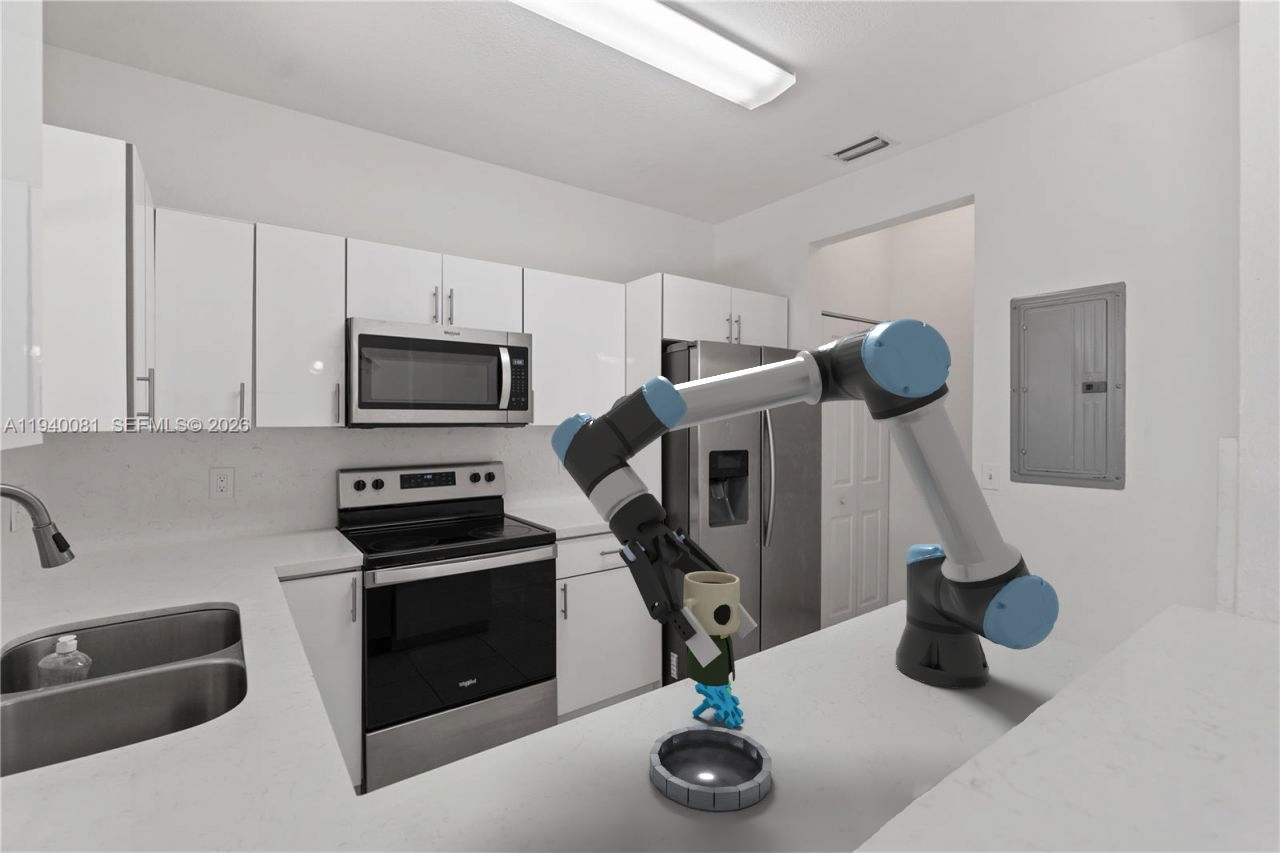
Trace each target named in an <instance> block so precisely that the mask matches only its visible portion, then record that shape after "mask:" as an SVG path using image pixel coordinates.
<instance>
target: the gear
mask: <svg viewBox="0 0 1280 853" xmlns="http://www.w3.org/2000/svg"><path fill="white" fill-rule="evenodd" d="M731 685H732V682H731V680H730V679H729V684H728V685H725V686H719V687H715V686H705V685H703V684H700V683H698V682H696V684H695V685H694V689H695V692H696V693H697V694H698V695H700V694H701V695H702V696H704V699H703V700H702V703H701V704H699V705H698V706H697V707H696V708H695V709H693V711H692V712H691V713H692V715H693V717H695V718H698V717H699V716H700V715H701V714H702V713H703V714H704V712H705V711H707V710H709V709H710V708H713V709H715V710H716V712H714V713H713V716H714V718H715V720H717V721H718V722H719V723H721V721H723V720H724V719H725V720H724V724H725V726H726V727H727V728H728V729H733V728H734V727H736V728H737V727H740V726H741V725H742V724H743V721H742V719H741V718H742V717H743V716H744V712H743V710H742V709H741V708H740V707H738V706H739V705H740V704H741V703H740V700H739V698H738V696H736V695H733V694H732V690H733V688H732V686H731Z"/></svg>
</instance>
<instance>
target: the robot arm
mask: <svg viewBox="0 0 1280 853" xmlns="http://www.w3.org/2000/svg"><path fill="white" fill-rule="evenodd" d="M951 366H952V356H951V352H950V347H949V345H948V343H947V341H946V340H945V338H944V337H943V336H942V334H941V333H940V332H939V331H938V330H937V329H936V328H935V327H933V326H932V325H930V324H928V323H926V322H922V320H921V321H920V320H917V319H913V318H902V319H894V320H886V321H884V322H881V323H879V324H878V323H877V324H875V325H873V326H870V327H867V328H864V329H861V330H859V331H854V332H851V333H848V334H847V335H844V336H842V337H840V338H837V339H835V340H832V341H830V342H827V343H825V344H822V345H819V346H816V347H813V348H809V349H805V350H800V351H798V352H797V354H796V355H795V358H792V359H791V358H790V359H786V360H782V361H778V362H774V363H773V362H772V363H769V364H764V365H759V366H755V367H750V368H746V369H742V370H736V371H733V372H732V371H731V372H727V373H723V374H719V375H718V374H717V375H716V376H710V377H709V376H708V377H705V378H702V379H697V380H696V379H695V380H691V381H687V382H683V383H679V384H673V383H672V382H671V381H670V380H669V379H668V378H667V377H664V376H663V375H662V376H661V375H657V376H655V377H653V378H651V379H650V380H649V381H647V382H644V383H643V384H642V385H641V386H640V387H638V388H637V389H636V390H634V391H633V392H632V393H630V394H628V395H627V394H626V395H623V396H621V397H620V398H617V399H616V401H614V402H613V404H612V406H611V408H610V410H608V411H607V412H606V413H603V414H602V415H601V416H599V417H597V418H596V419H595V418H594V417H593V416H592V415H590V414H589V413H587V412H580V413H576V414H574V416H568V418H566V419H564V420H562V422H561V423H560V424H559V425H558V426H557V427H556V429H555V430H554V432H553V433H552V435H551V440H550V444H551V448H552V450H553V451H554V453H555V454H556V456H557V458H558V459H559V461H560V462H561V465H562V466H563V467H564V469H565V470H566V471H567V472H568V474H569V475H570V476H571V478H572V479H573V480H574V482H575V483H576V485H577V486H578V487H579V488H580V490H581V491H582V493H583V494H584V495H585V497H586V498H587V499H588V500H589V502H590V503H591V504H592V506H593V507H594V508H595V510H596V512H597V513H598V515H600V516H601V519H602V520H603V521H604V522H605V523H608V529H609V530H610V531H611V533H612V534H613V535H614V537H615V539H617V541H618V542H619V544H620V545H621V546H622V547H623V548H622V549H621V550H620V551H619V556H620V558H621V559H622V560H623V561H624V563H625V564H626V566H627V567H628V569H629V572H630V573H631V576H632V578H633V581H634V583H635V584H636V585H635V586H636V588H637V589H638V591H639V594H640V596H641V598H642V601H643V603H644V605H645V607H646V609H647V611H648V613H649V614H648V615H649V616H650V617H651V619H653V620H654V621H657V622H658V624H661V625H665V624H666V622H669V623H670V625H671V626H672V627H673V629H674V630H675V631H676V634H678V635H679V638H680V639H681V640H682V641H684V643H685V644H686V646H687V647H688V648H690V650H691V651H692V653H693V654H694V655H695V657H696V658H697V659H698V661H699V662H700V664H701V665H702V666H703V668H704V667H705V666H706V665H708V664H709V663H710V662H711V661H712V660H714V659H715V658H716V657H717V656H718V655H720V654H721V651H720V650H719V649H718V647H717V646H716V645H715V643H714V642H713V641H712V639H711V638H710V636H709V635H708V634H707V632H706V631H705V630H704V628H703V627H702V626H701V624H700V623H699V622H698V620H697V619H696V618H695V616H694V615H693V614H692V612H691V611H690V610H689V608H688V607H687V606H685V607H684V608H683V607H682V605H681V601H680V598H679V595H678V591H677V588H676V585H675V582H674V579H673V576H672V573H671V570H670V568H671V569H673V570H676V569H678V570H679V571H680V572H682V574H685V575H686V574H688V573H692V572H700V571H714V572H723V573H727V571H726V570H725V569H724V568H723V567H721V566H720V565H719V563H717V562H716V561H715V560H714V559H713V558H712V557H711V556H710V555H709V554H708V553H707V552H706V551H705V550H704V549H702V547H701V546H700V545H699V544H697V543H696V542H695V540H693V539H692V538H691V537H690V535H689V534H688V533H687V531H686V530H685V529H684V528H683V527H682V526H678V527H677V528H676V529H675V530H674V531H673V530H671V529H669V528H668V527H667V526H666V525H665V523H664V522H665V519H666V515H667V512H666V509H665V508H664V507H663V506H662V505H661V503H660V501H658V499H657V498H656V497H655V495H654V494H652V493H649V487H648V486H647V485H646V484H645V483H644V481H643V480H642V479H641V478H640V476H639V475H638V474H637V473H636V471H635V470H634V468H633V467H632V466H631V465H630V464H629V463H628V461H629V460H630V459H632V458H633V457H635V456H636V455H637V454H639V452H641V451H642V450H644V449H645V448H646V447H648V446H649V445H650V444H652V443H654V441H656V440H657V439H659V438H660V437H661V436H663V435H665V434H666V433H670V432H673V431H678V430H683V429H687V428H691V427H696V426H701V425H703V424H704V425H705V424H708V423H713V422H718V421H722V420H727V419H731V418H735V417H739V416H740V417H741V416H745V415H748V414H753V413H758V412H762V411H765V410H770V409H774V408H780V407H784V406H788V405H792V404H797V403H800V402H805V403H806V404H808V405H810V406H813V405H818V404H822V403H828V402H829V403H830V402H842V401H864V402H865V405H866V407H867V409H868V412H869V414H870V415H871V417H872V420H873V421H874V422H876V423H879V424H881V425H885V426H886V427H887V429H888V430H889V432H890V435H891V438H892V440H893V442H894V445H895V446H896V449H897V451H898V454H899V455H900V458H901V460H902V461H903V465H904V466H905V468H906V471H907V472H908V475H909V478H910V480H911V481H912V485H913V487H914V489H915V490H916V493H917V496H918V497H919V500H920V501H921V504H922V506H923V509H924V511H925V513H926V516H927V517H928V520H929V522H930V524H931V527H932V528H933V531H934V533H935V535H936V538H937V539H938V542H939V543H919V544H918V543H917V544H913V545H911V546H910V547H909V548H908V549H907V550H908V551H907V556H906V563H905V567H906V616H905V617H906V619H905V622H906V623H905V627H904V629H903V631H902V633H901V636H900V639H899V643H898V646H897V647H896V649H895V650H896V651H895V666H896V665H897V666H896V668H897V667H898V668H899V669H900V670H901V671H900V670H899V669H898V668H897V669H898V670H899V671H900V672H901V673H903V674H904V673H905V675H906V674H907V675H906V676H908V677H910V676H911V677H910V678H912V677H913V679H915V680H917V679H918V681H920V680H921V681H920V682H923V681H924V682H923V683H926V684H930V685H934V684H935V685H934V686H939V687H944V688H951V689H975V688H976V689H977V688H980V687H984V686H986V685H987V684H988V683H989V680H990V666H989V663H988V661H987V657H986V655H985V652H984V648H983V645H982V642H981V639H980V637H982V638H984V639H985V640H988V641H990V642H991V643H993V644H994V645H1000V646H1003V647H1005V648H1008V649H1011V650H1027V649H1031V648H1033V647H1036V646H1037V645H1039V644H1041V643H1042V642H1043V641H1044V640H1045V639H1047V637H1049V635H1050V634H1051V632H1052V631H1053V630H1054V625H1055V623H1056V622H1057V621H1058V617H1059V610H1060V604H1059V602H1060V601H1059V597H1058V594H1057V592H1056V590H1055V589H1054V587H1053V586H1052V584H1050V582H1048V581H1047V580H1045V579H1044V578H1043V577H1042V576H1041V577H1040V576H1038V575H1037V574H1033V575H1032V573H1031V572H1030V570H1029V567H1027V564H1026V561H1025V560H1024V557H1023V555H1022V553H1021V551H1020V549H1019V548H1018V547H1017V546H1015V545H1014V544H1011V543H1008V542H1005V541H1004V539H1003V536H1002V535H1001V534H1002V533H1001V532H1000V530H999V528H998V526H997V523H996V520H995V519H994V516H993V513H992V511H991V509H990V507H989V505H988V502H987V499H986V498H985V496H984V494H983V491H982V489H981V487H980V485H979V482H978V480H977V478H976V475H975V473H974V471H973V468H972V467H971V464H970V462H969V459H968V457H967V455H966V453H965V451H964V448H963V446H962V444H961V441H960V440H959V437H958V435H957V432H956V430H955V428H954V426H953V423H952V421H951V418H950V417H949V414H948V412H947V410H946V407H945V402H946V401H947V398H948V396H949V394H950V389H949V387H948V385H947V384H948V383H947V382H946V381H947V379H948V377H949V375H950V370H949V369H950V367H951ZM738 611H739V616H740V624H739V627H738V629H737V631H736V632H735V633H737V635H738V636H739V637H740V640H741V639H743V638H745V636H747V635H749V634H750V633H751V632H752V631H753V630H754V629H756V628H757V627H758V624H757V623H756V621H755V620H754V619H753V617H752V616H751V615H750V614H749V612H748V611H747V610H746V609H745V607H744V606H743V605H742V603H741V602H740V601H739V603H738ZM979 636H980V637H979ZM985 684H986V685H985Z"/></svg>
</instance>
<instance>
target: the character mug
mask: <svg viewBox="0 0 1280 853" xmlns="http://www.w3.org/2000/svg"><path fill="white" fill-rule="evenodd" d="M740 580H741V579H740V577H738V576H737V575H735V574H732V573H729V572H728V573H723V572H714V571H700V572H692V573H688V574H685V575H684V578H683V602H682V603H683V605H682V606H683V607H682V609H683V608H684V607H685V606H687V607H688V608H689V610H690V611H691V612H692V614H693V615H694V616H695V618H696V619H697V620H698V622H699V623H700V624H701V626H702V627H703V628H704V630H705V631H706V632H707V634H708V635H709V636H710V638H711V639H712V641H713V642H714V643H715V645H716V646H717V647H718V649H719V650H720V651H721V654H720V655H718V656H717V657H716V658H715V659H714V660H712V661H711V662H710V663H709V664H708V665H706V666H705V667H704V668H703V666H702V665H701V664H700V662H699V661H698V659H697V658H696V657H695V655H694V654H693V653H692V651H691V650H690V648H689V647H688V648H687V656H686V661H685V662H686V663H685V671H684V673H685V676H686V677H687V678H689V679H691V680H692V681H694V682H696V683H697V682H698V683H700V684H703V685H705V686H715V687H719V686H725V685H728V684H729V680H730V675H732V682H735V680H736V666H735V665H736V664H735V657H734V648H733V639H732V637H731V634H734V633H737V632H736V631H737V629H738V627H739V624H740V616H739V611H738V603H739V602H740V599H741V581H740ZM698 683H697V684H698Z"/></svg>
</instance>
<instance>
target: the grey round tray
mask: <svg viewBox="0 0 1280 853" xmlns="http://www.w3.org/2000/svg"><path fill="white" fill-rule="evenodd" d="M772 764H773V763H772V757H771V756H770V754H769V753H768V750H766V748H765V746H763V745H762V744H761V743H759V742H758V741H757V740H755V739H753V738H752V737H750V736H749V735H747V734H744V733H742V732H738V731H736V730H734V729H732V728H728V727H727V728H724V727H720V726H719V727H718V726H712V725H695V726H684V727H681V728H676V729H674V730H671V731H668V732H666V733H664V734H663V735H662V736H660V737H659V738H657V739H656V740H654V742H653V745H652V747H651V749H650V751H649V769H648V770H649V773H650V779H651V781H652V783H653V785H654V786H655V787H656V789H657V790H658V792H660V793H661V794H663V796H665V797H666V798H668V799H669V800H670V801H672V802H674V803H676V804H679V805H681V806H684V807H687V808H689V809H693V810H698V811H703V812H710V813H711V812H713V813H728V812H735V811H739V810H744V809H746V808H750V807H752V806H754V805H756V804H757V803H759V802H761V801H762V800H763V799H764V798H765V797H766V796H767V795H768V793H769V791H770V790H771V787H772V786H771V784H772Z"/></svg>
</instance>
